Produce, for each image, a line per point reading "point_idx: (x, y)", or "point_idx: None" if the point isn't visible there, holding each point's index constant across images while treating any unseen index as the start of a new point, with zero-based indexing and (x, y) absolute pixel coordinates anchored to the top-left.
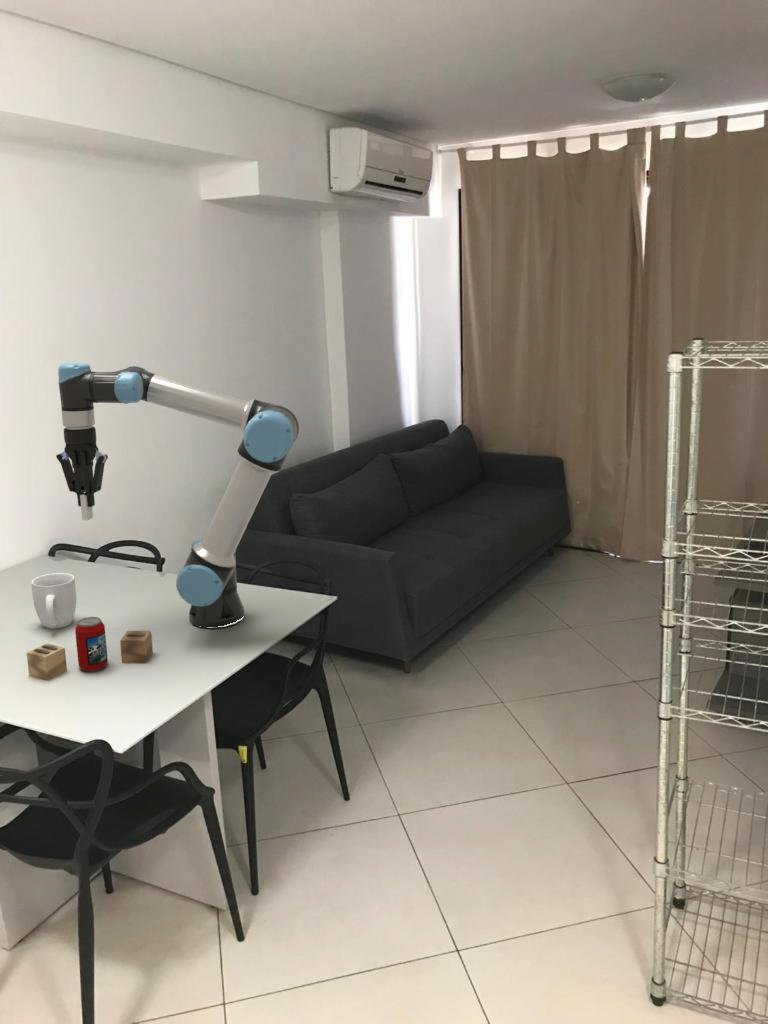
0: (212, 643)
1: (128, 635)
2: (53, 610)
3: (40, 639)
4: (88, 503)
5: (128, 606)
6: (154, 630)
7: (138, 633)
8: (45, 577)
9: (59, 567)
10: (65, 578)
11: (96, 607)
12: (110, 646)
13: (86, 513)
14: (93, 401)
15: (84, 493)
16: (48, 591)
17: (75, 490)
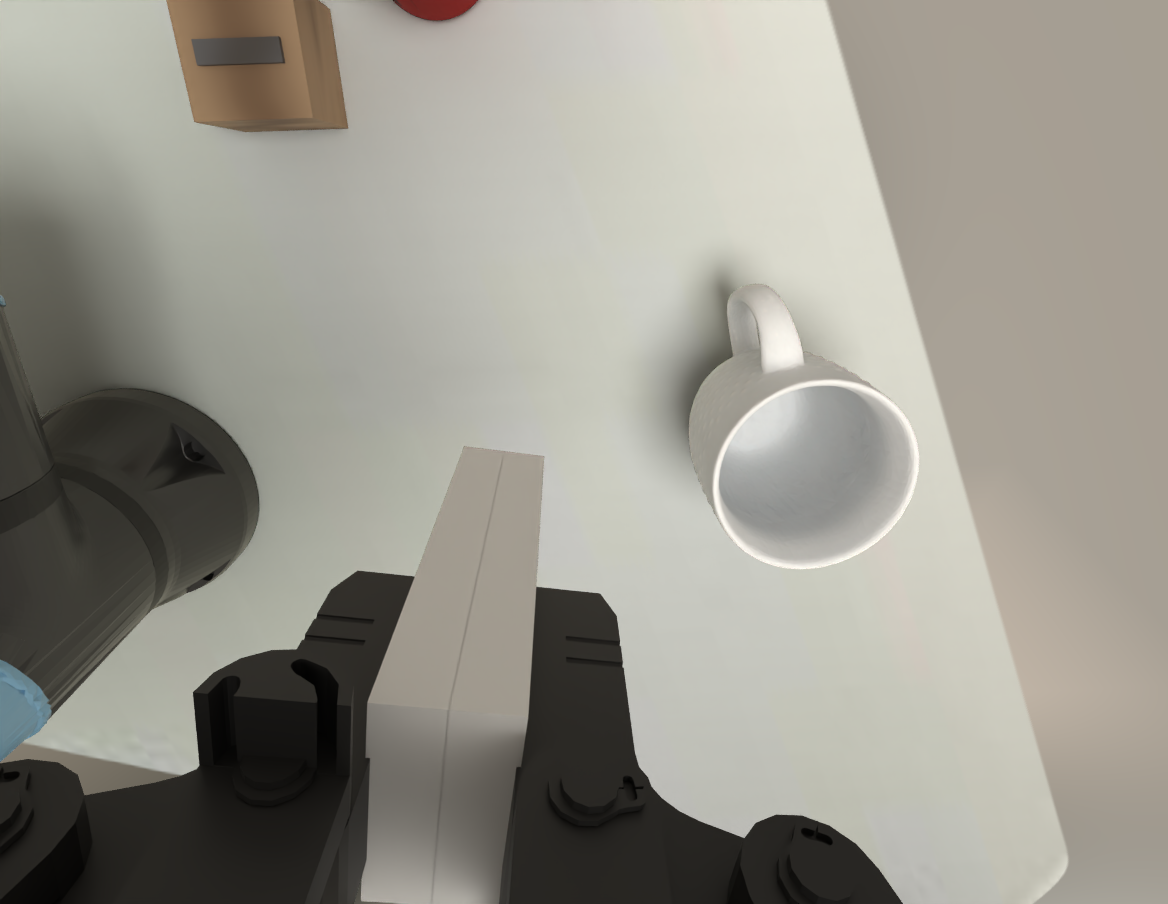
0: (41, 243)
1: (268, 35)
2: (757, 353)
3: (767, 253)
4: (395, 613)
5: (542, 580)
6: (345, 365)
7: (241, 84)
8: (867, 529)
9: (901, 869)
10: (772, 545)
11: (657, 565)
12: (454, 192)
13: (457, 486)
14: None
15: (338, 709)
16: (801, 371)
17: (689, 875)
